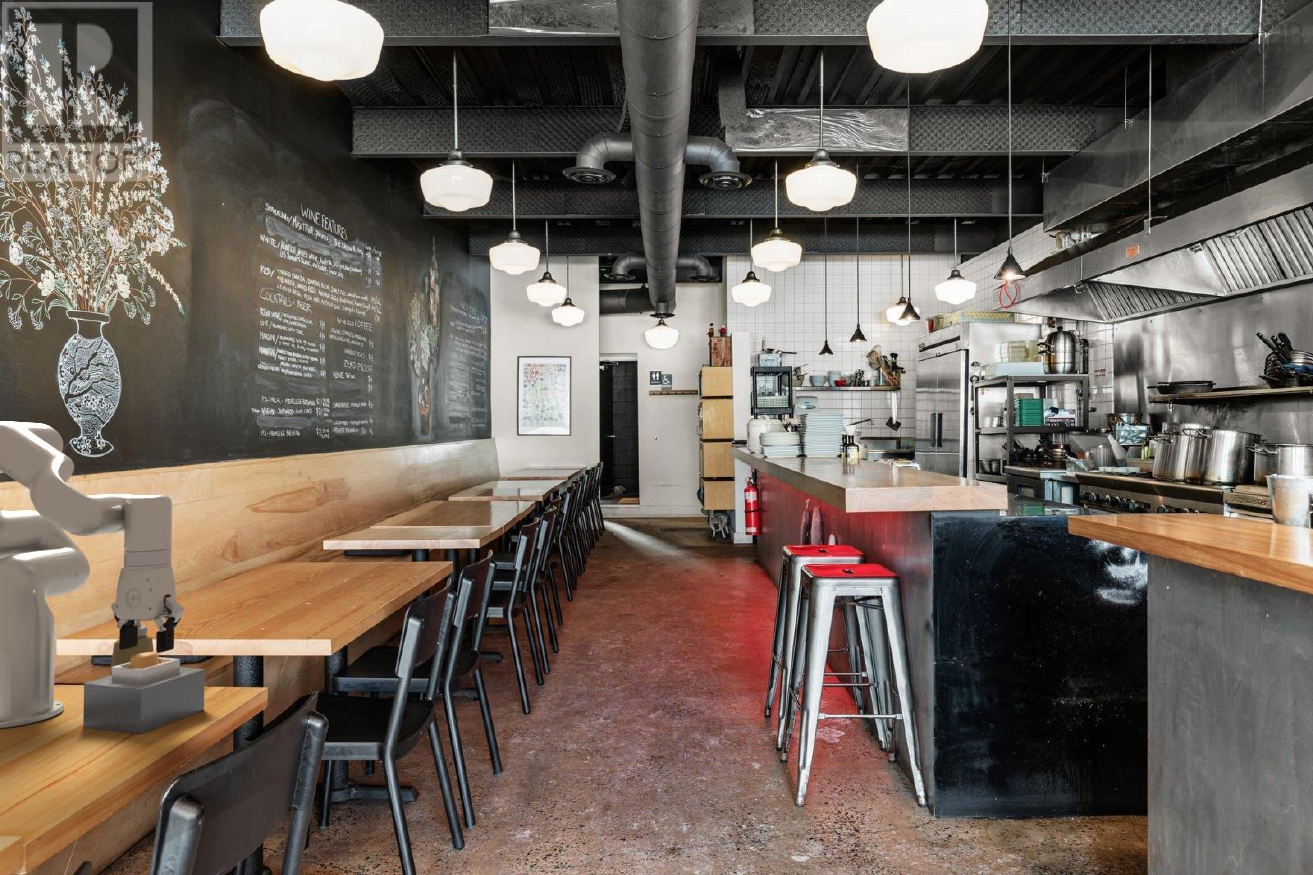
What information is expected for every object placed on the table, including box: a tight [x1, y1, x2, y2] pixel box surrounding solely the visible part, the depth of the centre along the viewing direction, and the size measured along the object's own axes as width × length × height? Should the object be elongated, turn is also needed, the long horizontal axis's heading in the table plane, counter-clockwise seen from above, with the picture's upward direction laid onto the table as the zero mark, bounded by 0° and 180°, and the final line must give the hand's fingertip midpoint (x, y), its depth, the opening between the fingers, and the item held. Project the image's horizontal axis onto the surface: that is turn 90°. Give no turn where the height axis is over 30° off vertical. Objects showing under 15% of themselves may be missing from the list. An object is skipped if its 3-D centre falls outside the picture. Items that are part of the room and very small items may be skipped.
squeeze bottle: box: [109, 621, 155, 676], centre depth 151 cm, size 8×8×18 cm
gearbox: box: [82, 657, 206, 735], centre depth 138 cm, size 14×13×10 cm
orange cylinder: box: [131, 651, 160, 669], centre depth 138 cm, size 4×4×9 cm
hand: (146, 649), depth 138 cm, fingers open, 8 cm apart
